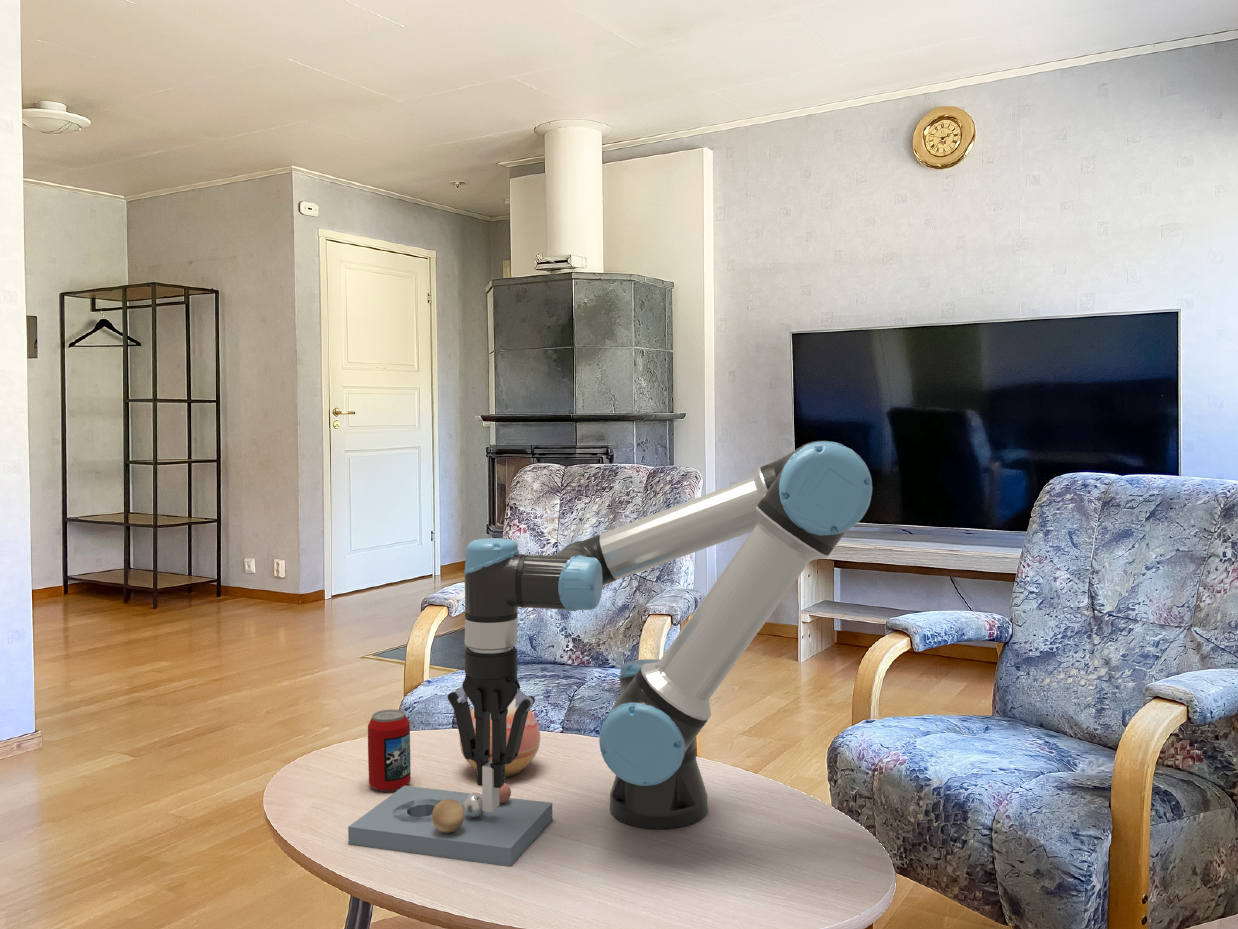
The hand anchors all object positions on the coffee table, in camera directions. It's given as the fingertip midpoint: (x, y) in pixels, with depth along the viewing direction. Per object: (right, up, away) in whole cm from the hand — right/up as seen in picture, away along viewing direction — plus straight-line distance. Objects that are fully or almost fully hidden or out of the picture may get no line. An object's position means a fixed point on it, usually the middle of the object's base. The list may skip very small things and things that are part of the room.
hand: (490, 808), depth 139 cm
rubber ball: (+1, 0, +6) cm, 6 cm away
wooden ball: (-5, 0, -4) cm, 7 cm away
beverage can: (-19, -4, +20) cm, 28 cm away
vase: (-2, -3, +26) cm, 26 cm away
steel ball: (-2, 0, +1) cm, 3 cm away
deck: (-6, -4, +2) cm, 7 cm away
